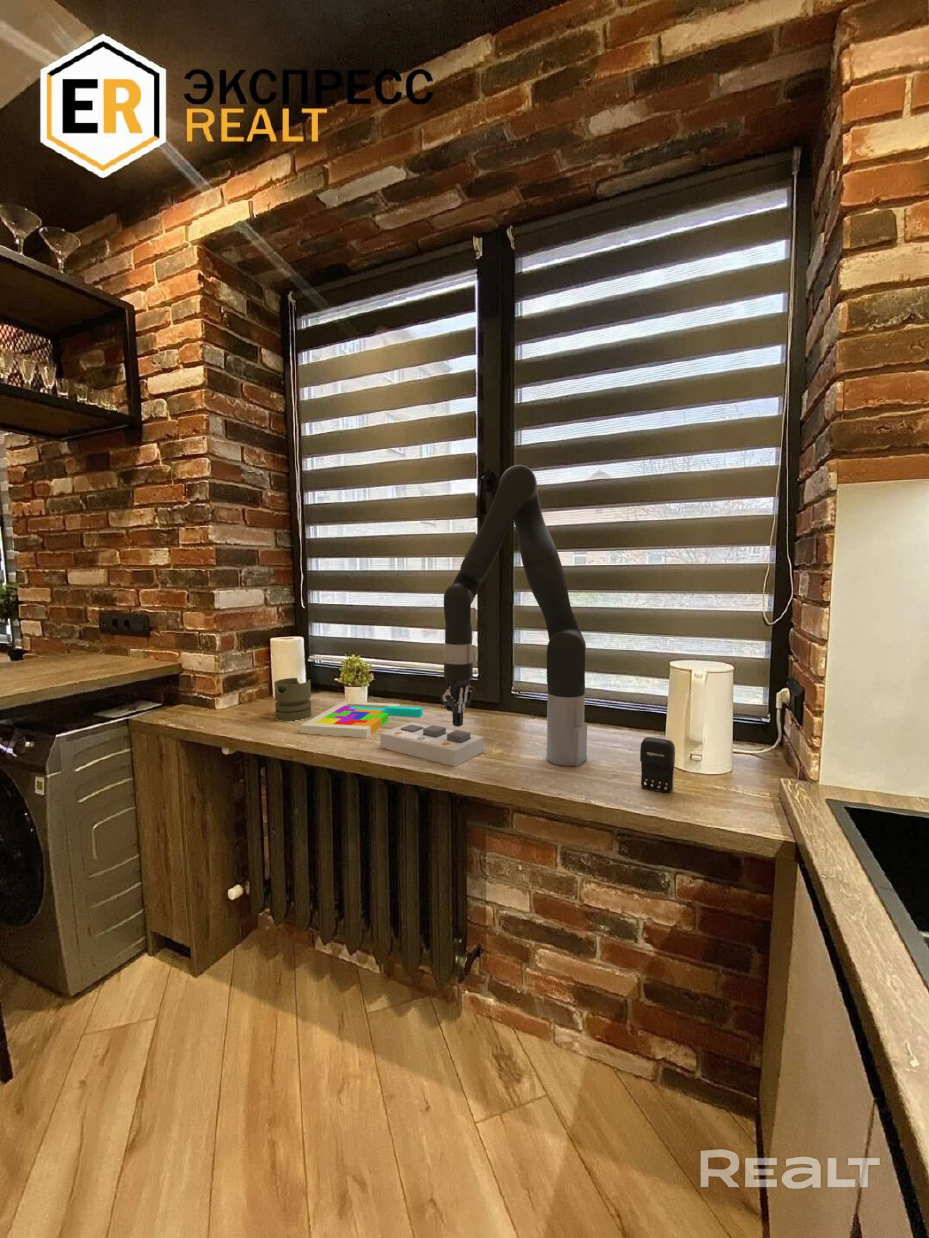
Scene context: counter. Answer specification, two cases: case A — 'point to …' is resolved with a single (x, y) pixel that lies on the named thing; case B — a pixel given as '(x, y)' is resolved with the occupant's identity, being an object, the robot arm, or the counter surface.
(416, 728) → the button far
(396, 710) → the puzzle game
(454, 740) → the button near
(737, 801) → the counter surface
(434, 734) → the button middle
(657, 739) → the battery charger
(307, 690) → the piston
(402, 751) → the button panel
